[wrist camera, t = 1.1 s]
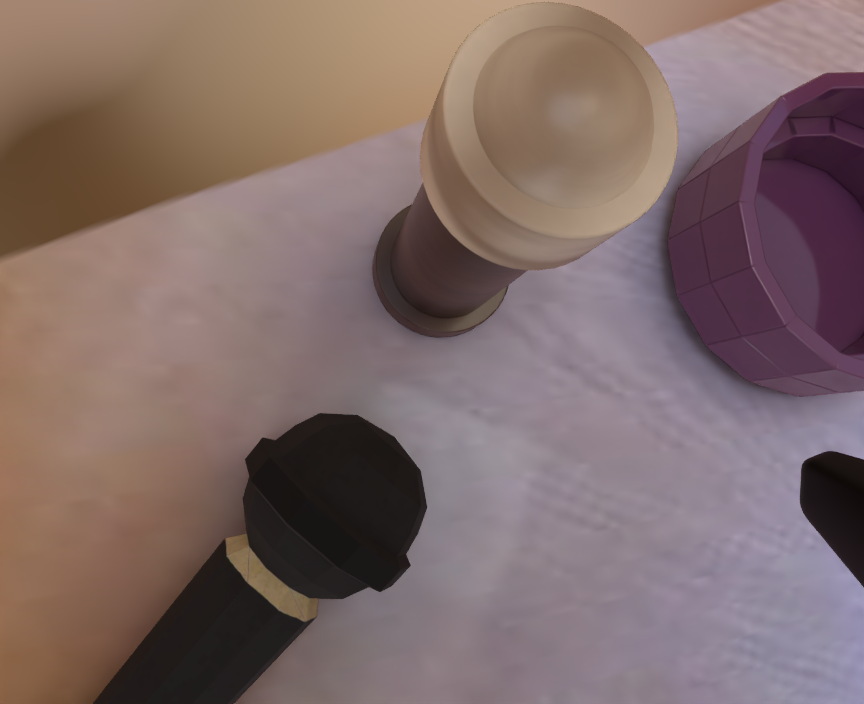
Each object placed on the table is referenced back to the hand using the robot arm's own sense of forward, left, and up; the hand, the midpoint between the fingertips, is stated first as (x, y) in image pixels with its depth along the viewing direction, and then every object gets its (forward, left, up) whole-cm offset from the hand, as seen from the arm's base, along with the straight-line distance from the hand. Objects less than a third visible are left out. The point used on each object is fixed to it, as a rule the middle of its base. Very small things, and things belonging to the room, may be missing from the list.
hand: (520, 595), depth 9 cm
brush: (+4, -8, -14) cm, 16 cm away
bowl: (-7, -17, -14) cm, 23 cm away
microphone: (+3, +8, -14) cm, 16 cm away
